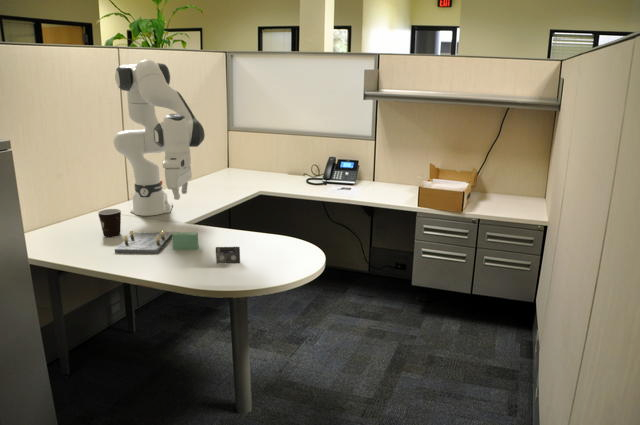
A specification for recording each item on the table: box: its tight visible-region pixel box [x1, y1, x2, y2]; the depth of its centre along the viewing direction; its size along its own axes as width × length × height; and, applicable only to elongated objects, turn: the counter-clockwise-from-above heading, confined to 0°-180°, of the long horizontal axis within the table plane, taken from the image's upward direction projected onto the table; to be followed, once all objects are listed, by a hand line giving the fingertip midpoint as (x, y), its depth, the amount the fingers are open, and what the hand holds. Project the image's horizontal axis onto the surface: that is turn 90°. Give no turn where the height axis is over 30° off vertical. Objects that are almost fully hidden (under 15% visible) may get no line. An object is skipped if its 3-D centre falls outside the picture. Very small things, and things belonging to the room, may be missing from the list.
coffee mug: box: [97, 208, 122, 238], centre depth 216 cm, size 12×9×10 cm
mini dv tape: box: [215, 246, 241, 265], centre depth 187 cm, size 8×2×6 cm, turn 92°
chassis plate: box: [114, 230, 174, 254], centre depth 206 cm, size 20×16×4 cm
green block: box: [171, 231, 200, 251], centre depth 202 cm, size 3×9×6 cm, turn 89°
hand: (181, 196), depth 197 cm, fingers open, 8 cm apart
